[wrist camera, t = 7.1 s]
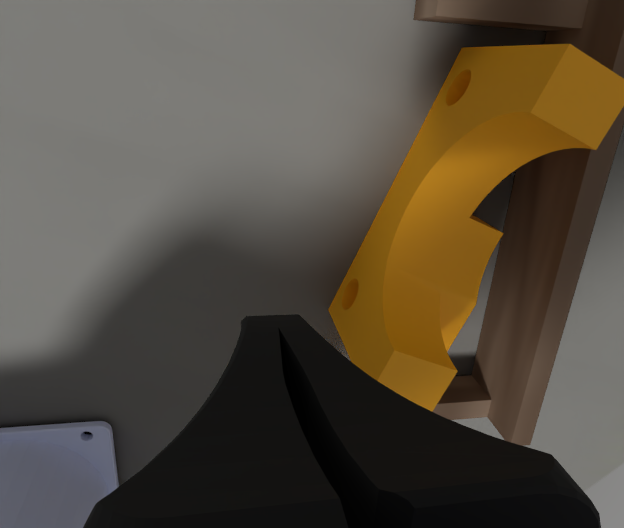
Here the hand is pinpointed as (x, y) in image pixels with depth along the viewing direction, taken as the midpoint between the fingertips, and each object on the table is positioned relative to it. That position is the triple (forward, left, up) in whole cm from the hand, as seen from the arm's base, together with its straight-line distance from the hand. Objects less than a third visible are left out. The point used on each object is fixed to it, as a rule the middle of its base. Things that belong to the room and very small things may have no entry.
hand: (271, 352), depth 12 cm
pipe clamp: (+8, +1, -10) cm, 13 cm away
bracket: (+9, 0, -9) cm, 13 cm away
